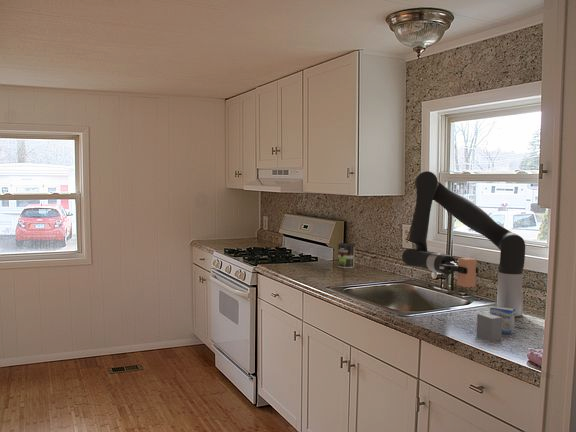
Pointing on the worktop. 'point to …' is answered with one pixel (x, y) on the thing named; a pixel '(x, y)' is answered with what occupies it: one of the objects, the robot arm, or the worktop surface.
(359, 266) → the worktop surface
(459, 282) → the terracotta block
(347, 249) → the clear container
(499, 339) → the slate-grey plastic block
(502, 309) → the medicine box
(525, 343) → the worktop surface
